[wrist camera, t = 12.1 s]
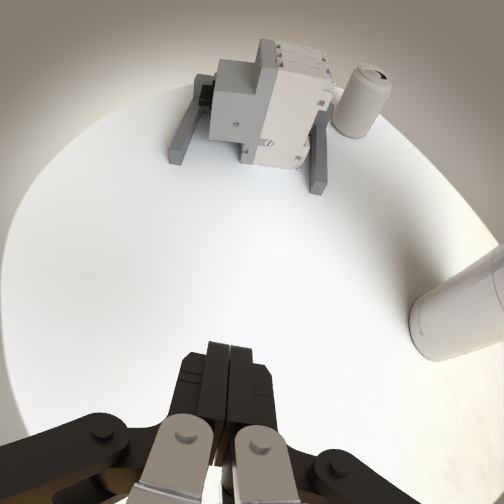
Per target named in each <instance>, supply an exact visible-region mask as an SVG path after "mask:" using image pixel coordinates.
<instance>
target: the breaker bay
mask: <svg viewBox="0 0 504 504" xmlns="http://www.w3.org/2000/svg"><path fill="white" fill-rule="evenodd" d="M213 80H214V76H210V75H203V74H197V75H196V77H195V81H194V95H193V99H192V101H191V103H190V106H189V108H188V110H187V112H186V114H185V116H184V118H183V120H182V122H181V124H180V127H179V129H178V131H177V133H176V135H175V138H174V140H173V142H172V144H171V147H170V149H169V162H170V164H176V165H181V163H182V160H183V158H184V155H185V153H186V150H187V148H188V145H189V143H190V140H191V138H192V135H193V133H194V130H195V128H196V125H197V123H198V120H199V118H200V116H201V113H202V112H205V113H211V111H212V110H209V107H206V106H198V104H199V96H200V94H201V89H202V84H203V85H212V83H213ZM333 111H334V106H333V104H331V103H330V104H329V106H328V108H327V111H322V110H318V112H317V115H316V117H315V119H314V122H313V124H312V127H311V129H310V131H309V134H308V135H310V136H311V175H310V193H312V194H316V195H320V196H321V194H322V192H323V191H324V189H325V187H326V186H327V142H326V126H327V124H328V122H329V119H330V117H331V115H332V113H333Z"/></svg>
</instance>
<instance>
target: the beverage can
mask: <svg viewBox="0 0 504 504" xmlns="http://www.w3.org/2000/svg"><path fill="white" fill-rule="evenodd" d="M392 84H393V80H392V78H391V77H390V76H389V75H388V74H387V73H386V72H385V71H383V70H382V69H380V68H378V67H376V66H373V65H370V64H367V63H361V64H359V66H358V68H356V69H354V71H353V73H352V75H351V77H350V79H349V82H348V84H347V86H346V89H345V90H344V93H343V95H342V97H341V99H340V101H339V104H338V106H337V108H336V110H335V112H334V115H333V117H332V121H333V124H334V125H335V127H336V129H337V130H338V131H339V132H340V133H342V134H343V135H345V136H348V137H351V138H363V137H365V136H366V134H367V133H368V131H369V129H370V128H371V126H372V124H373V122H374V121H375V119H376V117H377V115H378V114H379V112H380V110H381V108H382V107H383V105H384V103H385V101H386V100H387V98H388V96H389V94H390V92H391V91H392V87H391V85H392Z"/></svg>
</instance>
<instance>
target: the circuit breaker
mask: <svg viewBox="0 0 504 504" xmlns="http://www.w3.org/2000/svg"><path fill="white" fill-rule="evenodd" d="M334 85H336V80H335V77H334V74H333V72H332V69H331V67H329V62H328V59H327V56H326V54H325V52H324V51H322V52H320V51H317V50H316V49H313V48H308V47H304V46H299V45H294V44H289V43H284V42H279V41H273V40H267V39H260V43H259V48H258V52H257V56H256V61H255V63H249V62H241V61H233V60H222V59H220V61H219V65H218V71H217V73H215V75H214V80H213V83H212V85H203V84H202V89H201V94H200V96H199V104H198V106H206V107H209V110H212V111H211V120H210V130H209V140H218V141H227V142H236V143H241V155H240V163H243V164H251V165H260V166H268V167H276V168H283V169H291V168H297V171H300V169H301V168H300V167H301V165H302V163H304V160H305V158H306V156H307V154H308V151H309V149H310V144H309V138H308V134H309V131H310V129H311V127H312V124H313V122H314V119H315V117H316V115H317V112H318V110H322V111H327V108H328V106H329V104H330V101H331V99H332V97H333V89H334Z"/></svg>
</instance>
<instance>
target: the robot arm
mask: <svg viewBox="0 0 504 504" xmlns="http://www.w3.org/2000/svg"><path fill="white" fill-rule="evenodd" d="M409 324H410V332H411V336H412V339H413V342H414V344H415V346H416V347H417V349H418V350H419V352H420V353H421V354H422V355H423V356H424V357H426V358H427V359H429V360H432V361H436V362H440V361H444V360H447V359H451V358H454V357H457V356H461V355H464V354H467V353H470V352H473V351H476V350H479V349H482V348H485V347H488V346H490V345H493V344H496V343H498V342H501V341H504V242H502V243H501V244H500V245H498V246H497V247H496V248H494V249H493V250H492V251H490V252H489V253H487V254H486V255H484V256H483V257H481V258H480V259H479V260H477V261H476V262H474V263H473V264H471V265H470V266H468V267H467V268H465V269H464V270H462V271H461V272H459V273H457V274H456V275H454V276H453V277H451V278H450V279H448V280H446V281H445V282H443V283H442V284H440V285H438V286H437V287H435V288H433V289H432V290H430V291H428V292H427V293H425V294H423V295H422V296H420V297H419V298H418V299H417V300H416V301H415V303H414V305H413V307H412V309H411V313H410V321H409ZM229 348H230V350H229ZM272 387H273V384H272V375H271V374H270V372H269V371H268V369H267V368H266V366H265V365H261V364H255V363H253V358H252V349H251V348H245V347H239V346H233V345H231V346H230V345H228V344H222V343H217V342H212V341H209V343H208V348H207V353H206V355H204V354H199V353H194V352H190V353H189V354H188V355H187V356H186V357H185V358H184V359H183V360H182V364H181V367H180V372H179V375H178V379H177V382H176V386H175V390H174V394H173V398H172V401H171V405H170V409H169V413H168V415H167V417H166V418H165V419H164V420H163V421H162V422H161V423H159V424H157V425H155V426H152V427H147V428H127V426H126V425H125V423H124V422H123V421H122V420H120V419H119V418H118V417H116V416H114V415H111V414H107V413H92V414H88V415H86V416H83V417H81V418H78V419H76V420H73V421H71V422H68V423H65V424H63V425H60V426H58V427H55V428H52V429H49V430H47V431H44V432H41V433H38V434H36V435H33V436H30V437H27V438H24V439H21V440H18V441H15V442H12V443H9V444H6V445H3V446H0V504H114V503H116V502H118V501H120V500H122V499H124V498H126V497H127V496H128V499H127V502H126V504H201V501H202V500H201V498H202V493H203V488H204V482H205V478H206V474H207V471H208V467H209V465H211V466H212V464H213V460H214V457H215V462H214V466H219V467H222V478H221V481H220V484H219V504H421V503H419V502H418V501H416V500H415V499H413V498H412V497H410V496H409V495H407V494H406V493H404V492H403V491H401V490H400V489H399V488H397V487H396V486H394V485H393V484H391V483H390V482H389V481H387V480H386V479H384V478H383V477H382V476H380V475H379V474H377V473H376V472H375V471H373V470H372V469H371V468H369V467H368V466H367V465H365V464H364V463H363V462H361V461H360V460H359V459H357V458H356V457H355V456H353V455H352V454H350V453H348V452H346V451H343V450H339V449H329V450H326V451H323V452H321V453H320V454H319V455H318V456H313V455H310V454H307V453H303V452H300V451H297V450H295V449H293V448H291V447H290V446H288V445H287V444H286V442H285V440H284V438H283V437H282V436H281V435H280V434H279V433H278V429H277V420H276V411H275V402H274V397H273V396H274V393H273V388H272Z"/></svg>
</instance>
